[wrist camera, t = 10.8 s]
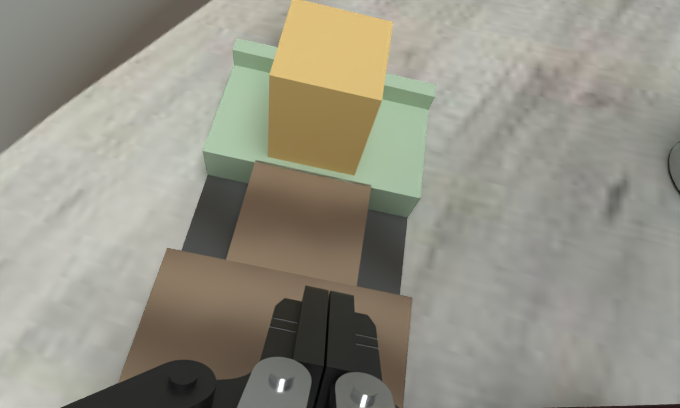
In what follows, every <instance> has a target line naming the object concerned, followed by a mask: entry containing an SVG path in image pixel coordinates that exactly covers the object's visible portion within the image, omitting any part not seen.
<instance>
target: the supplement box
mask: <svg viewBox="0 0 680 408" xmlns="http://www.w3.org/2000/svg"><path fill="white" fill-rule="evenodd" d="M558 408H680V404H666V405H635V406H600V407H558Z"/></svg>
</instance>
